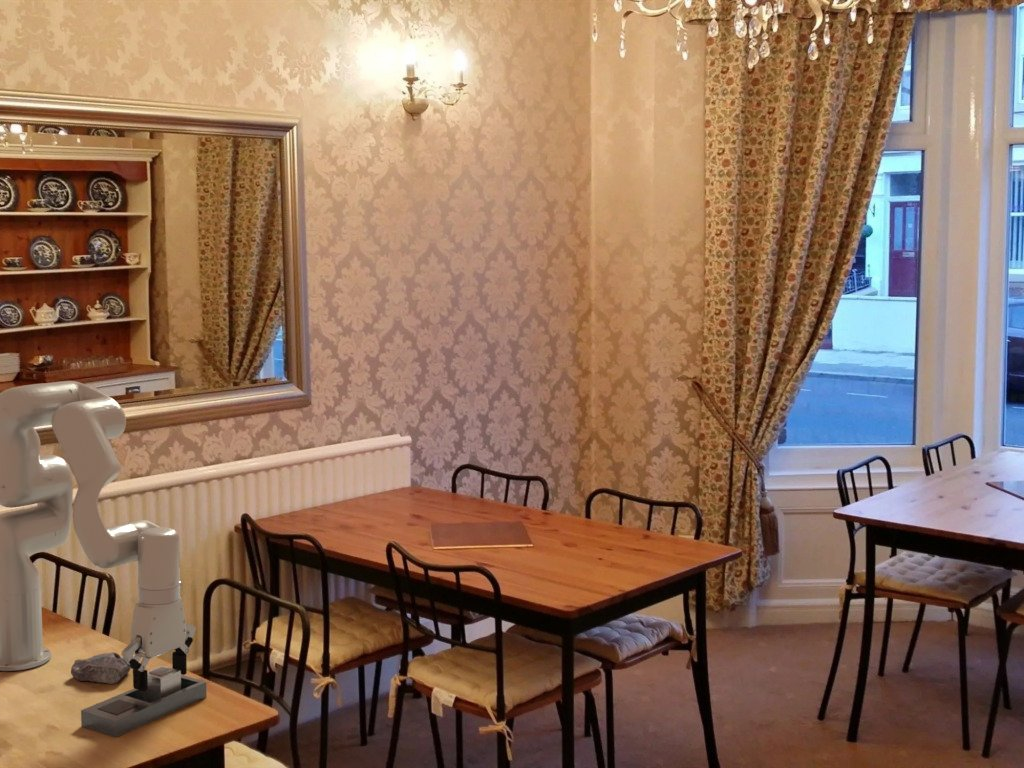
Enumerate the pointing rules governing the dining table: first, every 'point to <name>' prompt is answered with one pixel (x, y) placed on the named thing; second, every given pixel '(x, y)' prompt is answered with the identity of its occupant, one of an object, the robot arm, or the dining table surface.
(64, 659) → the dining table surface
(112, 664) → the rock
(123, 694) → the grey tray with recess
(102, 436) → the robot arm
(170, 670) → the gray cube
